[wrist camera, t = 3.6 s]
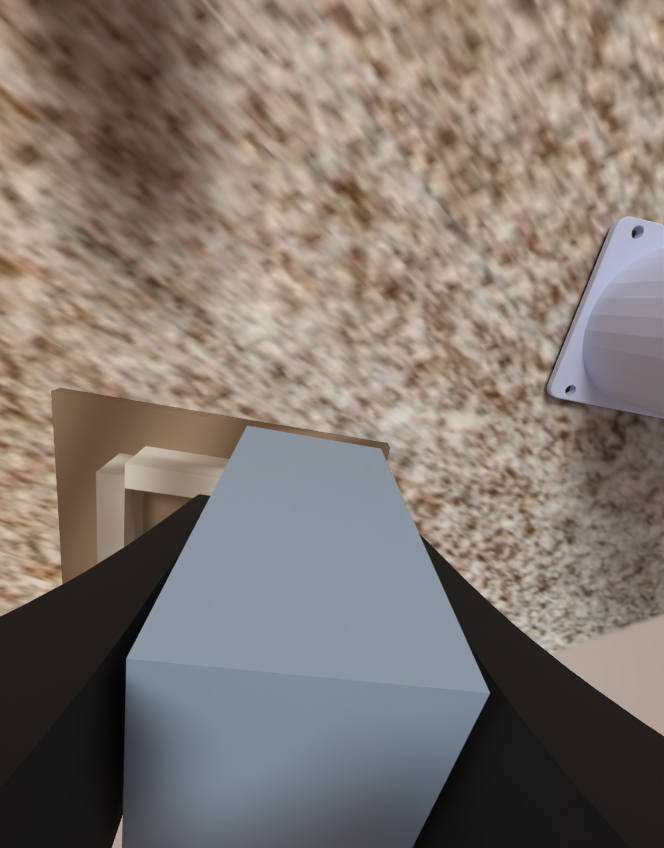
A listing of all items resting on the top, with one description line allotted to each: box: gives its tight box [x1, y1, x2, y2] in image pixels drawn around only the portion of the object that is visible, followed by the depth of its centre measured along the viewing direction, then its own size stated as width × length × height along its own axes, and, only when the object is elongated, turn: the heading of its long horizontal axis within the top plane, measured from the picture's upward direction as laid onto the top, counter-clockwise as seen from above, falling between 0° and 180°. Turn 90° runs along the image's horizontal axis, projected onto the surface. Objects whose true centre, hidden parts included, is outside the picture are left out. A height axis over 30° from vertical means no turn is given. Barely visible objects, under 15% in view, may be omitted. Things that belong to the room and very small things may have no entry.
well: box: [51, 388, 390, 584], centre depth 18 cm, size 16×12×3 cm
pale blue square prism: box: [122, 426, 490, 848], centre depth 8 cm, size 4×4×7 cm
